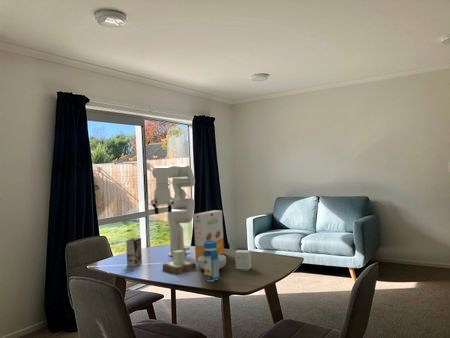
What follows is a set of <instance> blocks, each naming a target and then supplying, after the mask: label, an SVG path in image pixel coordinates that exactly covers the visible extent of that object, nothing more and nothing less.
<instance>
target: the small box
mask: <svg viewBox="0 0 450 338" xmlns="http://www.w3.org/2000/svg"><path fill="white" fill-rule="evenodd" d="M234 256H235V257H234V258H235V259H234V260H235V270H236V269H250V268H251V267H252V252H251V250H249V249H248V250H247V249H237V250H236V251H235V252H234ZM251 269H252V268H251ZM251 269H250V270H251Z"/></svg>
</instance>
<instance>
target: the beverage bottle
mask: <svg viewBox="0 0 450 338" xmlns="http://www.w3.org/2000/svg"><path fill="white" fill-rule="evenodd" d="M216 247H217V243H216V241H206V242H204V249H205V251H204V253H203V257H204V258H203V263H204V269H203V280H204V281H205V280H207V281H206V282H215V281H214V280H217V281H219V280H220V269H219V262H218V261H219V258H218V252H217V250H216V249H215V248H216ZM218 279H219V280H218Z"/></svg>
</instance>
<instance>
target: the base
mask: <svg viewBox="0 0 450 338" xmlns="http://www.w3.org/2000/svg"><path fill="white" fill-rule="evenodd" d="M194 269H195V270H197V264H196V263H195V262H193V261H189V260H186V259H185V263H182V264H174V263H173V261H169V262H165V263H164V264H162V271H164V272H167V273H171V274H173V275H180V274H184V273H188V272H190V270H191V271H194ZM187 271H188V272H187Z"/></svg>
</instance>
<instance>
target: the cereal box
mask: <svg viewBox="0 0 450 338" xmlns="http://www.w3.org/2000/svg"><path fill="white" fill-rule="evenodd" d="M223 221H224V220H223V210H217V209H216V210H215V209H214V210H209V211H204V212H203V211H202V212H198V213H193V229H194V230H193V231H194V232H193V233H194V249H195V250H194V251H195V253H194V254H195V261H197V260H198V258H199V257H201V256H203V253H204V251H205V249H204V242H206V241H216V243H217V247H216V248H215V249H216V250H217V252H218V254H220V255H221V254H222V255H224V254H225V248H224V247H225V245H224V226H223V225H224V224H223Z"/></svg>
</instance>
